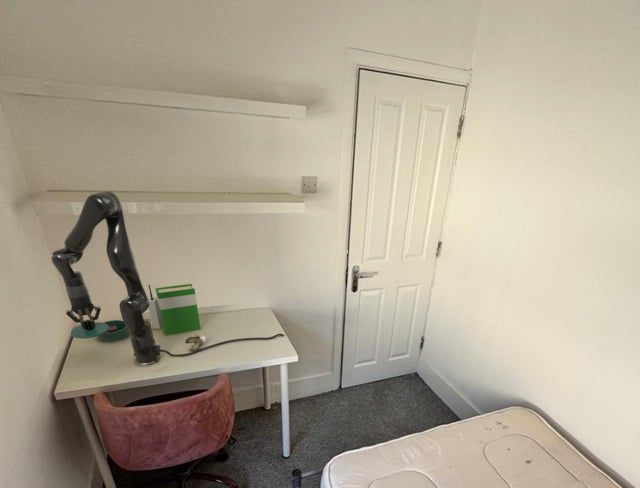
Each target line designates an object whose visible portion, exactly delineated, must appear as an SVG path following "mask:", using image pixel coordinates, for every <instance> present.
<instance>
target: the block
mask: <svg viewBox="0 0 640 488" xmlns="http://www.w3.org/2000/svg"><path fill="white" fill-rule="evenodd" d="M116 331H118V330H117V327H116V326H112V327H109V330H108V332H107V333H109V332H116Z"/></svg>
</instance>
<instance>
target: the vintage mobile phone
mask: <svg viewBox="0 0 640 488" xmlns="http://www.w3.org/2000/svg"><path fill="white" fill-rule="evenodd" d="M148 289H149V295H150V297H149V298H148V301H149V307H148V312H149V316H150V321H151V326H152V330H161V329H163V324H162V319H161V314H160V309H159V304H158V300H157V296H153V293H152V290H151V285H150V284H148Z"/></svg>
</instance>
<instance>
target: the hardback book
mask: <svg viewBox="0 0 640 488" xmlns="http://www.w3.org/2000/svg"><path fill="white" fill-rule="evenodd" d="M154 289H155V294H156V297H157V300H158V304H159V309H160V314H161V319H162V324H163V326H162V329H163V331H164V334H165V336H170V335H175V334H181V333H187V332H193V331H199V330H201V323H200V317H199V309H198V303H197V296H196V289H195V287H193V284H192V283H186V284H177V285H171V286H162V287H154Z"/></svg>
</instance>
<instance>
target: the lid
mask: <svg viewBox="0 0 640 488" xmlns="http://www.w3.org/2000/svg"><path fill="white" fill-rule="evenodd" d="M94 322H95V325H96V327H95V329H93V328H92V325H91V322H90V319H85V320H84V323H85V326H86V328H87V330H85V329H83V328H82V325H81V324H80V325H78V326H75V327H74V328H72V329H71V331H70V335H71V336H72V337H73V338H75V339H91V338H96V337H98V336H99V335H102V334H104V333H108V332H107V331H108V330H109V326H108V325H107V324H105V323H103V322H102V321H101V322H99V321H94Z"/></svg>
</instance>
